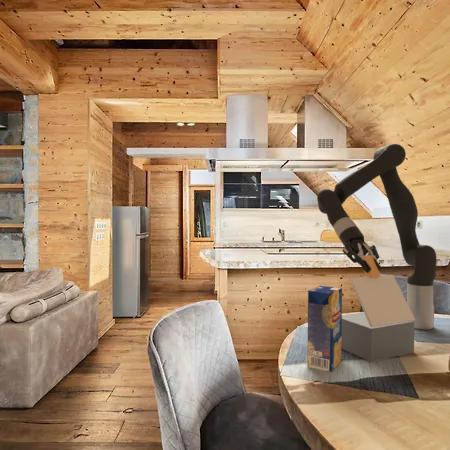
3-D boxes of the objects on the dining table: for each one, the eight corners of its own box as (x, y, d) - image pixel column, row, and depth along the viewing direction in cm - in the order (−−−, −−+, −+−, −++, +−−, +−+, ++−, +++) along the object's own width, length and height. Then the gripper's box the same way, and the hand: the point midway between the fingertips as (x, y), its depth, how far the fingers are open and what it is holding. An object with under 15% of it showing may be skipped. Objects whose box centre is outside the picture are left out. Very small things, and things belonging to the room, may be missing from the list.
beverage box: (341, 359, 110) (342, 287, 110) (330, 372, 101) (331, 293, 101) (319, 355, 114) (320, 285, 114) (307, 366, 105) (308, 291, 104)
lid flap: (382, 257, 128) (387, 254, 126) (413, 320, 117) (419, 318, 115) (341, 259, 120) (345, 256, 118) (370, 327, 109) (376, 324, 107)
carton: (374, 338, 131) (374, 310, 131) (414, 352, 117) (414, 321, 117) (333, 345, 123) (334, 316, 123) (371, 361, 109) (371, 328, 109)
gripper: (338, 225, 125) (364, 265, 114) (368, 225, 131) (396, 263, 120) (327, 239, 130) (351, 278, 119) (357, 239, 136) (382, 276, 125)
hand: (374, 270), depth 120 cm, fingers closed on lid flap, 4 cm apart
